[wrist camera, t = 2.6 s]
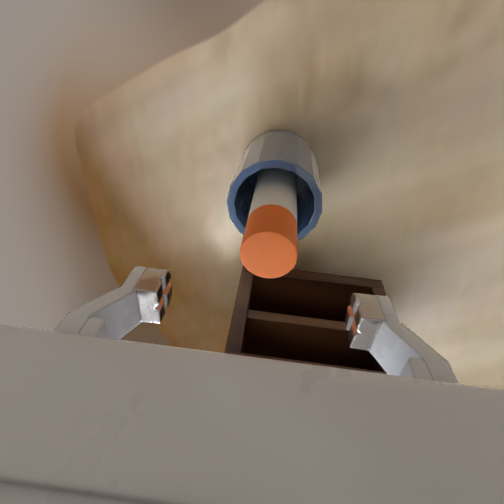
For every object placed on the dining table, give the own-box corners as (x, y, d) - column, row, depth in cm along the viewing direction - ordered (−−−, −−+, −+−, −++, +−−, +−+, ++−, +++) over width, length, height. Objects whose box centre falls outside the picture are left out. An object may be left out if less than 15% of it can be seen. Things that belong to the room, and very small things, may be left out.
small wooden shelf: (243, 263, 33) (218, 378, 22) (381, 280, 32) (424, 407, 22) (239, 323, 38) (217, 440, 28) (358, 339, 38) (383, 464, 27)
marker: (275, 145, 25) (263, 220, 16) (304, 168, 26) (310, 254, 16) (252, 173, 27) (228, 258, 17) (280, 194, 28) (272, 287, 18)
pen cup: (272, 112, 25) (266, 139, 19) (332, 163, 26) (342, 201, 21) (227, 173, 28) (209, 211, 22) (282, 214, 29) (279, 260, 24)
